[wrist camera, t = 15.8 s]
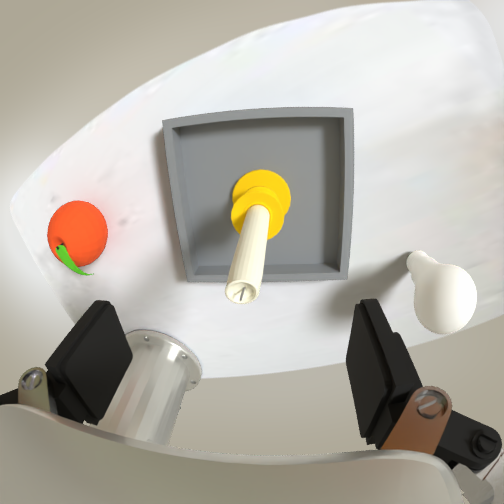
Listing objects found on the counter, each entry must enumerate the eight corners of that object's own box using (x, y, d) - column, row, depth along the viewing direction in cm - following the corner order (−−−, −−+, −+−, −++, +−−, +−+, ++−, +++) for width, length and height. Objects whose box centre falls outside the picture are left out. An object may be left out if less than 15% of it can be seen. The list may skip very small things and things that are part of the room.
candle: (301, 206, 26) (324, 318, 12) (253, 234, 27) (226, 358, 13) (270, 158, 24) (259, 217, 10) (221, 188, 26) (155, 280, 12)
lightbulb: (445, 254, 27) (496, 311, 17) (408, 290, 29) (446, 358, 19) (417, 219, 26) (474, 274, 16) (378, 261, 28) (416, 329, 18)
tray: (342, 266, 29) (347, 279, 26) (194, 269, 30) (187, 282, 28) (346, 109, 22) (353, 108, 20) (172, 119, 24) (162, 120, 21)
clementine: (134, 243, 30) (102, 277, 23) (96, 264, 32) (64, 296, 25) (99, 181, 27) (57, 201, 20) (63, 209, 29) (25, 232, 22)
